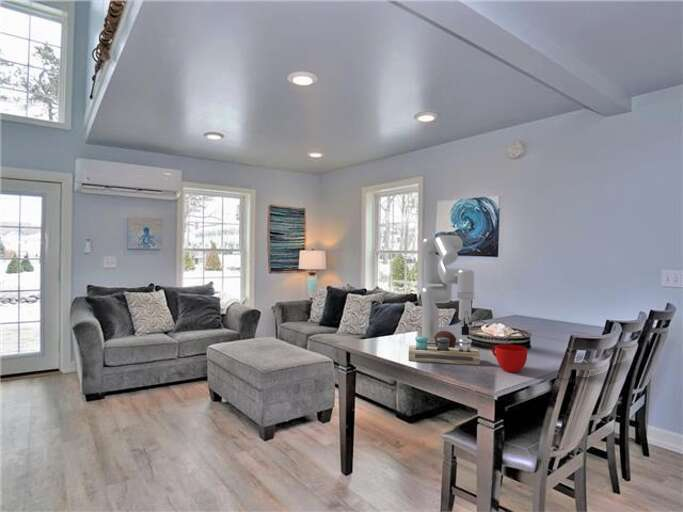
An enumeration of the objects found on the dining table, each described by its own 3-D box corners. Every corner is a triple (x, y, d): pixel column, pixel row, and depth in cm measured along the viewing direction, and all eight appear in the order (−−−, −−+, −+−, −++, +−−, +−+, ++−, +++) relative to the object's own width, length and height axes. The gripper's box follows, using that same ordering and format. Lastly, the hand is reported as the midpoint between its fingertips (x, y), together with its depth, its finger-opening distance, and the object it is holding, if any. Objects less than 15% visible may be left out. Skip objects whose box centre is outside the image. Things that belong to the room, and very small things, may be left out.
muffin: (460, 352, 214) (460, 333, 213) (440, 354, 211) (440, 334, 211) (449, 347, 225) (449, 329, 225) (430, 348, 222) (430, 329, 222)
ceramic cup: (502, 363, 194) (502, 341, 194) (533, 372, 179) (534, 349, 179) (481, 366, 188) (482, 344, 188) (512, 376, 173) (513, 352, 173)
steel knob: (457, 351, 200) (457, 338, 200) (470, 351, 199) (470, 338, 199) (458, 353, 194) (459, 340, 194) (472, 354, 193) (472, 341, 193)
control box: (409, 355, 207) (409, 345, 207) (476, 359, 201) (476, 348, 201) (408, 360, 197) (408, 350, 196) (479, 365, 190) (479, 354, 190)
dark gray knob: (436, 349, 202) (436, 337, 202) (449, 350, 201) (449, 337, 201) (436, 352, 196) (436, 339, 196) (449, 353, 195) (450, 340, 195)
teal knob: (415, 348, 204) (415, 336, 204) (427, 349, 203) (428, 336, 203) (415, 351, 198) (415, 338, 198) (428, 352, 197) (428, 339, 197)
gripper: (456, 294, 205) (455, 331, 205) (458, 297, 190) (458, 337, 190) (472, 294, 203) (471, 332, 203) (475, 297, 189) (475, 338, 189)
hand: (465, 334), depth 197 cm, fingers closed
